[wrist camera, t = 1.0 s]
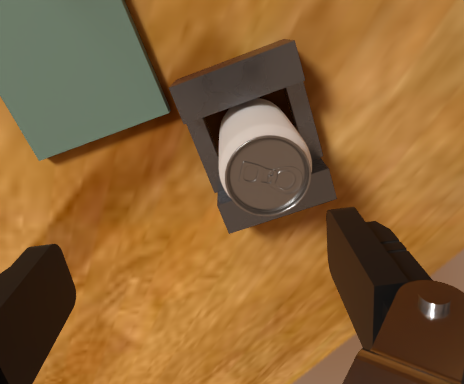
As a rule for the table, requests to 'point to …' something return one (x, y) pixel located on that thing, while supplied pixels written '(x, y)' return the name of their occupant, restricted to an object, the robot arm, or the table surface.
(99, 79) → the mat
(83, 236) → the table surface
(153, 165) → the table surface
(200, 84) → the block
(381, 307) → the robot arm
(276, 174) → the can
